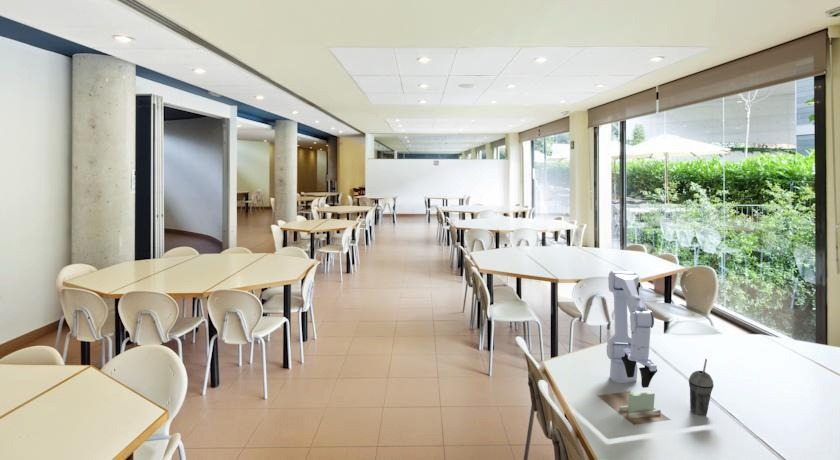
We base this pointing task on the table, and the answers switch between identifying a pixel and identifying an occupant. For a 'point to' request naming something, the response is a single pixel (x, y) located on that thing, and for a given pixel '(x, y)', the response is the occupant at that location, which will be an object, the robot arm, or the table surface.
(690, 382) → the beverage cup
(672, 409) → the table surface
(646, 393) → the door panel
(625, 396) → the track base
